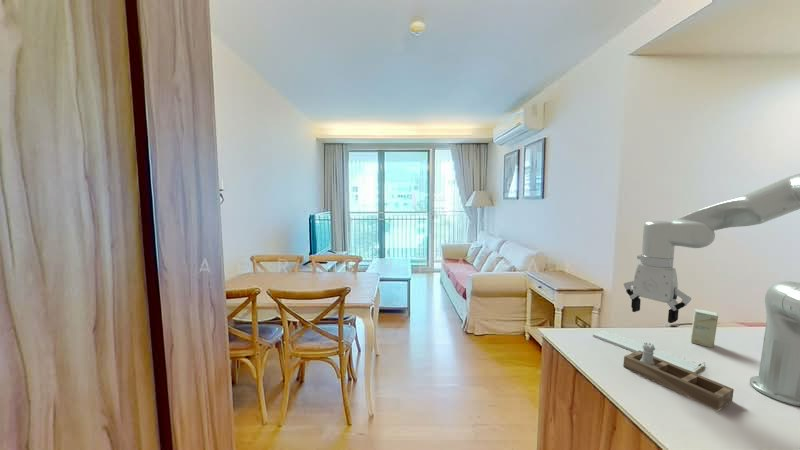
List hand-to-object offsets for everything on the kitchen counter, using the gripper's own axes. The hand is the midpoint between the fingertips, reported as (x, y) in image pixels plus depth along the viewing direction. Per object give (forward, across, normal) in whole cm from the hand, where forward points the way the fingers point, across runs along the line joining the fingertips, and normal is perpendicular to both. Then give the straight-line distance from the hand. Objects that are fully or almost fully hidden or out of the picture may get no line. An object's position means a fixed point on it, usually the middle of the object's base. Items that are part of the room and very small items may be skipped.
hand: (653, 316), depth 98 cm
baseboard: (+19, -8, +13) cm, 24 cm away
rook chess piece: (+17, -1, 0) cm, 17 cm away
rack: (+18, +6, -1) cm, 19 cm away
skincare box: (+19, -2, +38) cm, 43 cm away
